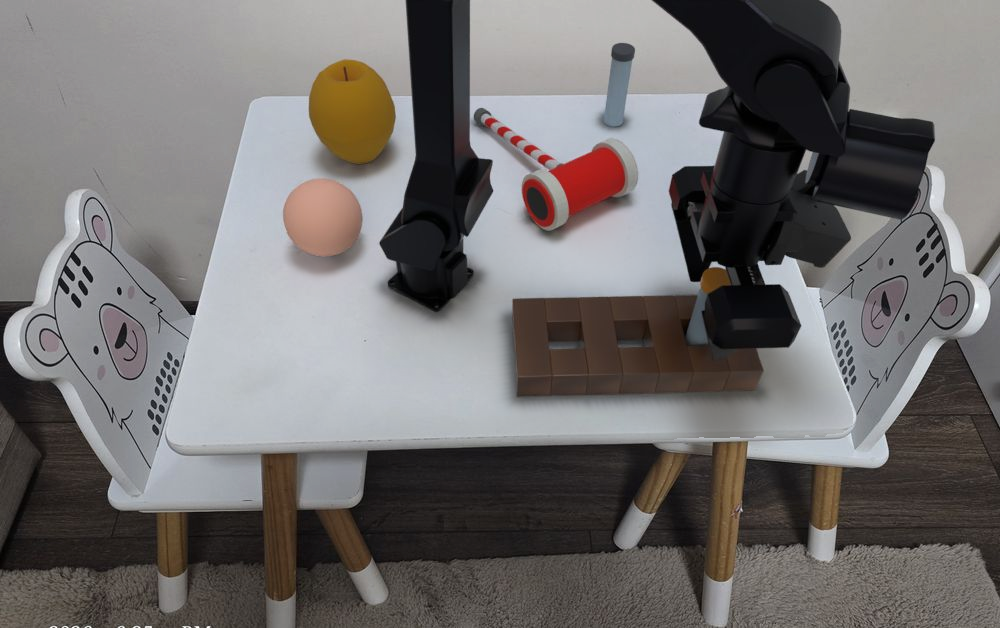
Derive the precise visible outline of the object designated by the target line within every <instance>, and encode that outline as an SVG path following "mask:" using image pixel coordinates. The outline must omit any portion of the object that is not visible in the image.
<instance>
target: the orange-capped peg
mask: <svg viewBox="0 0 1000 628" xmlns="http://www.w3.org/2000/svg"><path fill="white" fill-rule="evenodd" d="M699 285H700V288H699V291H698V294H697V295H698V297H697V300H696V304H695V307H694V310H693V313H692V317H691V320H690V323H689V327H688V330H687V333H686V336H685V341H686V345H687V346H708V345H709V344H708V340H707V335H706V331H705V326H704V322H703V318H702V313H701V312H702V310H705V301H706V297H707V294H708V293H710V292H712V291H714V290H715V289H717V288H719V287H720V286H722V285H731V284H730V280H729V277H728V274H727V271H726V268H723V267H721V266H719V267H718V266H713V267H709V268H708V269H706V270H705V271H704V272H703V275H702V278H701V281H700V282H699Z"/></svg>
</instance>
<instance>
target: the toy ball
mask: <svg viewBox="0 0 1000 628" xmlns="http://www.w3.org/2000/svg"><path fill="white" fill-rule="evenodd" d="M282 219H283V220H282V221H283V225H284V228H285V230H286V234H287V236H288V237H289V239H290V240H291V241H292V243H293V244H294V245H295V246H296V247H297V248H299V249H300V250H302V252H305V253H307V254H309V255H312V256H317V257H332V256H337V255H340V254H342V253H345V252H346V251H347V250H349V249H350V248H351V247H352V246H354V244H356V243H355V242H356V241H357V240H358V238H359V236H360V233H361V231H362V227H363V219H364V217H363V210H362V207H361V203H360V202H359V200H358V198H357V196H356V194H355V193H354V192H353V191H352V190H351V189H350V188H348V186H346V185H345V184H343V183H342V182H340V181H337V180H334V179H330V178H323V177H322V178H312V179H310V180H309V179H308V180H306V181H304V182H302V183H300V184H299V185H298V186H296V187H295V188H294V189H292V191H291V192H290V193H288V196H287V198H286V199H285V202H284V204H283V209H282Z"/></svg>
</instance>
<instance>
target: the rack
mask: <svg viewBox="0 0 1000 628" xmlns="http://www.w3.org/2000/svg"><path fill="white" fill-rule="evenodd" d="M697 297H698V294H681V295H680V294H675V295H673V294H669V295H668V294H667V295H620V296H619V295H617V296H615V295H614V296H574V297H571V296H570V297H568V296H567V297H566V296H565V297H528V298H527V297H524V298H523V297H522V298H512V306H511V328H512V344H513V345H512V346H513V358H514V359H513V360H514V375H515V391H516V397H550V396H552V397H553V396H584V395H586V396H589V395H590V396H594V395H595V396H596V395H624V394H625V395H627V394H628V395H630V394H664V393H703V392H704V393H707V392H708V393H712V392H742V391H743V392H745V391H755V390H756V389H757V386H758V384H759V383H760V380H761V377H762V376H763V373H764V368H763V365H762V361H761V358H760V356H759V353H758V350H757V349H758V348H750V349H738V350H736V351H735V352H734V353H733V354H731V355H730V356H729V357H728V358H726V359H725V360H712V357H711V353H710V349H709V345H708V346H687V345H686V341H685V336H686V333H687V330H688V327H689V323H690V320H691V317H692V313H693V310H694V307H695V304H696V300H697ZM618 341H643V345H644V346H635V347H634V346H632V347H631V346H630V347H629V346H626V347H619V345H618ZM554 342H555V343H563V342H565V343H566V342H578V348H550V343H554Z"/></svg>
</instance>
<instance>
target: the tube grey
mask: <svg viewBox="0 0 1000 628" xmlns="http://www.w3.org/2000/svg"><path fill="white" fill-rule="evenodd" d="M635 53H636V48H635V46H633V45H632V44H630V43H628V42H617V43H615V44H613V45H612V47H611V52H610V57H611V63H610V71H609V77H608V85H607V91H606V92H607V93H606V99H605V107H604V115H603V122H604V124H605V125H606V126H607V127H613V128H614V127H619V126H621V125H622V124H623V122H624V117H625V116H624V115H625V110H626V102H627V98H628V90H629V83H630V77H631V71H632V64H633V60H634V58H635Z"/></svg>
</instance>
